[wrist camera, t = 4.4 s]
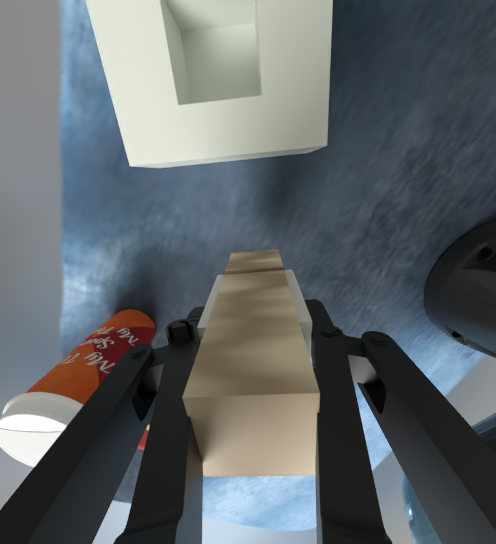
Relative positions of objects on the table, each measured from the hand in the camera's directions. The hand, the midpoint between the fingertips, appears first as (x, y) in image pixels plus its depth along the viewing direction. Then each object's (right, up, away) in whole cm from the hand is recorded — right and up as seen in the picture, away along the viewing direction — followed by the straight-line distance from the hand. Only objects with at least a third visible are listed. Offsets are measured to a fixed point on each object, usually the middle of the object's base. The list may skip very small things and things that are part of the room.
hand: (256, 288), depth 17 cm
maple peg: (0, +1, +3) cm, 3 cm away
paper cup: (-15, -6, +12) cm, 21 cm away
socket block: (-3, +17, +2) cm, 18 cm away
